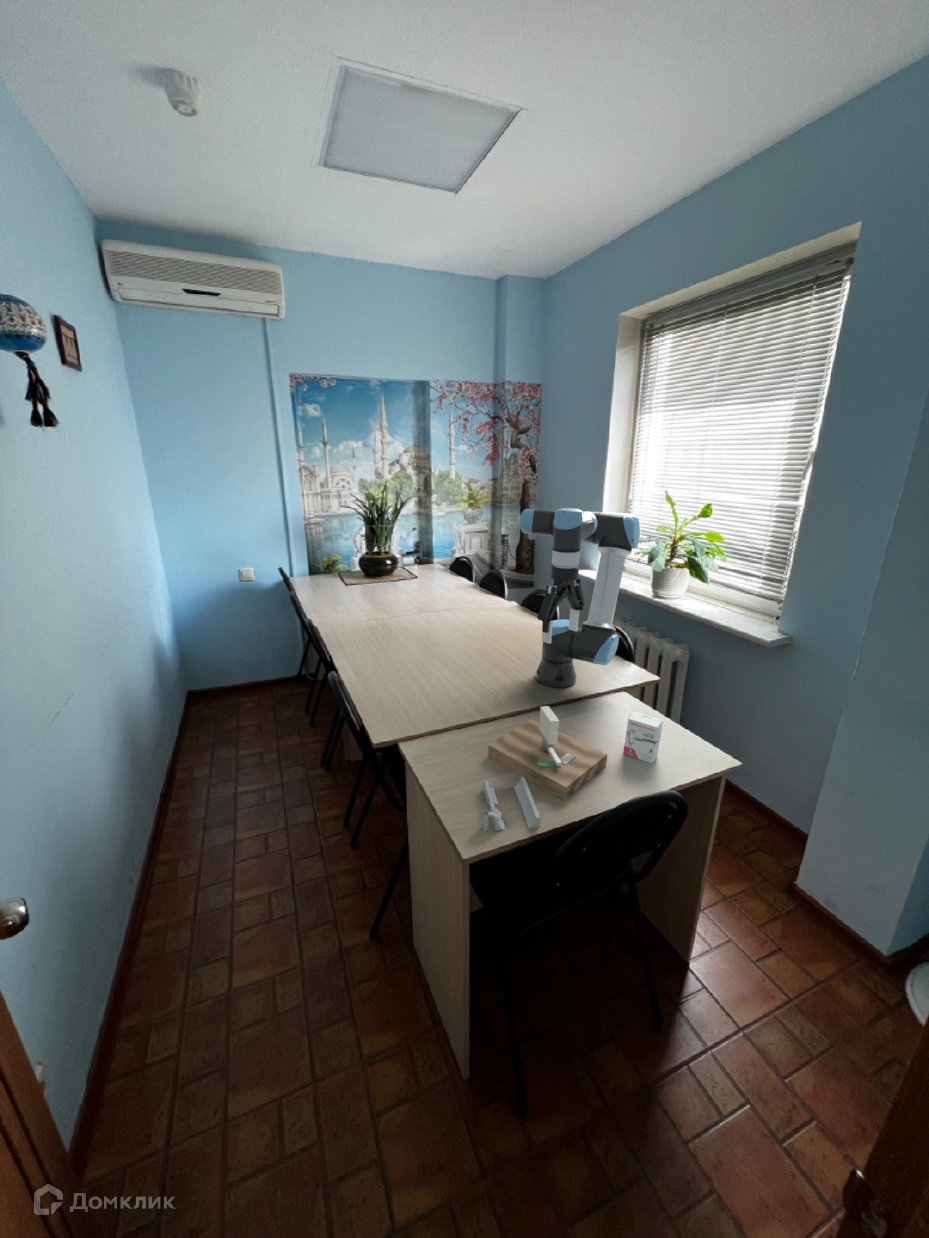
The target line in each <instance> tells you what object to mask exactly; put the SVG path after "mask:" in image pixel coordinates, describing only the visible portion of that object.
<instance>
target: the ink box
mask: <svg viewBox="0 0 929 1238" xmlns="http://www.w3.org/2000/svg"><path fill="white" fill-rule="evenodd" d="M663 722H664V721H663V720H662V719H661V718H657V717H653V716H650V715H647V714H644V713H641V712H637V711H633V712H631V714H630V715H629V717H628V719H627V725H626V732H625V741H624V746H623V755H626V756H629V757H632V758H635V759H638V760H641V761H643V762H647V763H649V764H654V762H655V761H656V759H657V757H658V753H659V750H660V749H659V748H660V741H661V735H662V729H663Z"/></svg>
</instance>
